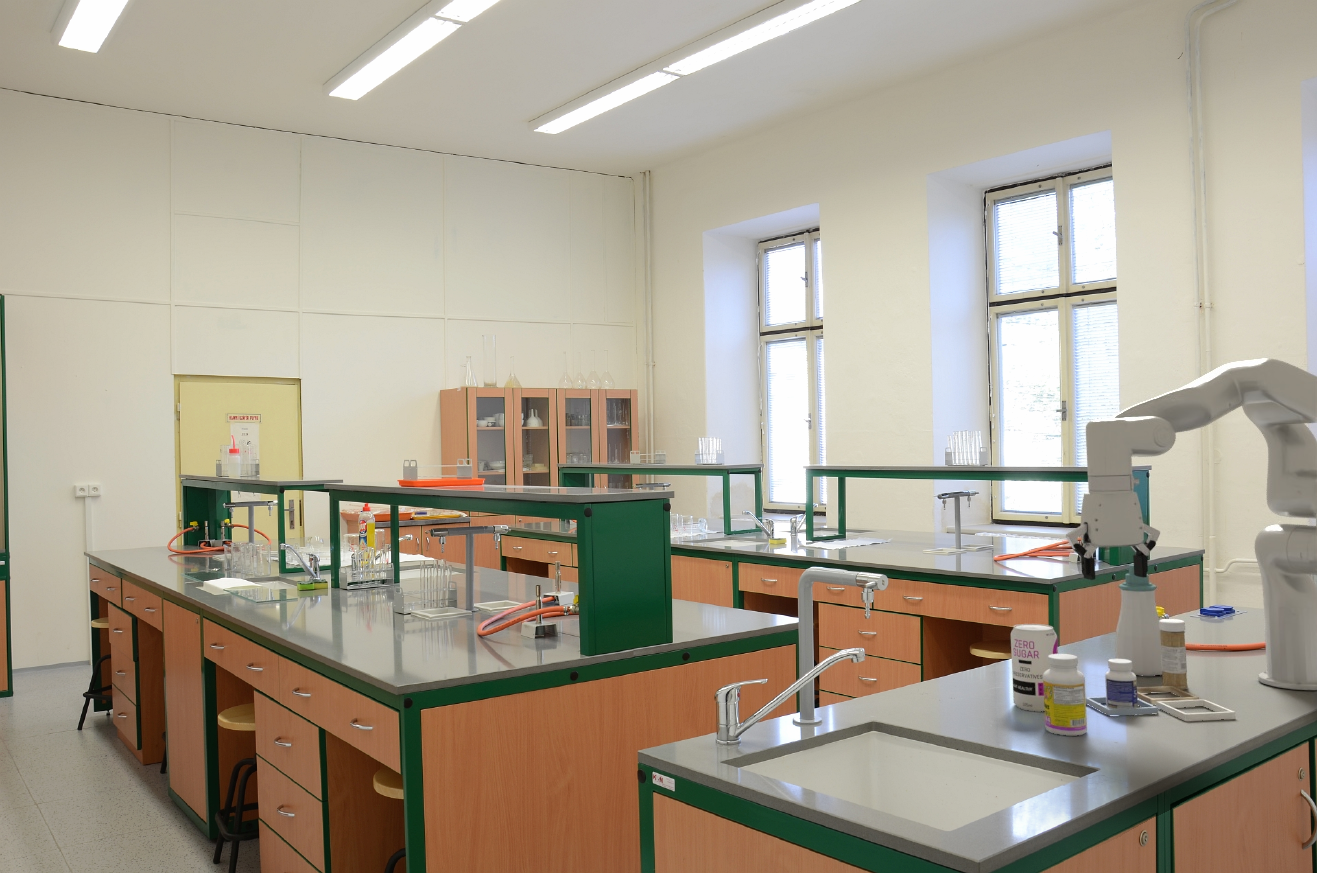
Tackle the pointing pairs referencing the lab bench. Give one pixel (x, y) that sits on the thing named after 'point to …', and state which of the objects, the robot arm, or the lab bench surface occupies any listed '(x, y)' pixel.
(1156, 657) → the soap bottle
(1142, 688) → the tray birch
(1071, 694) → the supplement bottle
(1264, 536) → the robot arm
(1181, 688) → the sprinkles bottle
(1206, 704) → the tray white
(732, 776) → the lab bench surface
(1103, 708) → the tray slate
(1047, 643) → the supplement can
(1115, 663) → the pill bottle
